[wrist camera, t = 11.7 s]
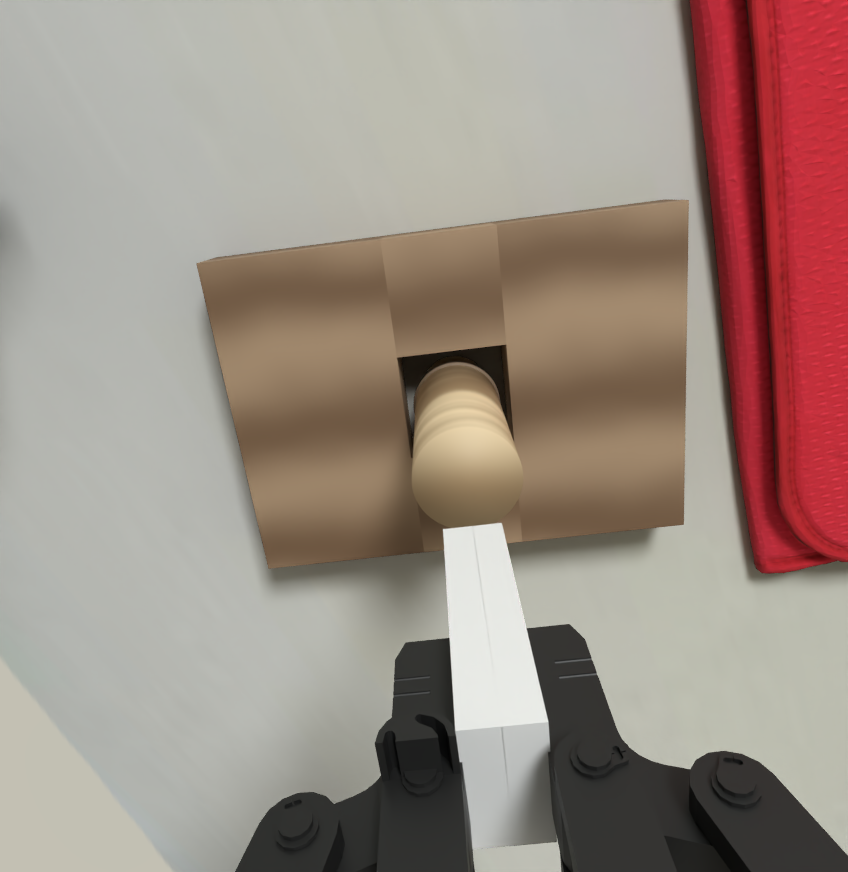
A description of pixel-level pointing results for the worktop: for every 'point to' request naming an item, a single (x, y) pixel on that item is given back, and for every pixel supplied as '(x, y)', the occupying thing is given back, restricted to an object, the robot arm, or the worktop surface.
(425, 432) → the oak peg
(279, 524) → the walnut board
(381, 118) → the worktop surface
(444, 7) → the worktop surface
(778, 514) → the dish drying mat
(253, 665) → the worktop surface
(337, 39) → the worktop surface
